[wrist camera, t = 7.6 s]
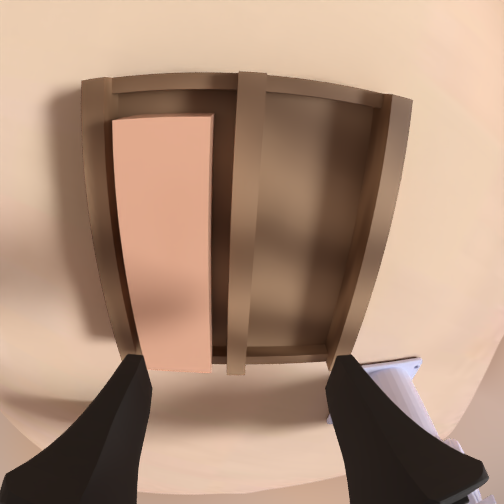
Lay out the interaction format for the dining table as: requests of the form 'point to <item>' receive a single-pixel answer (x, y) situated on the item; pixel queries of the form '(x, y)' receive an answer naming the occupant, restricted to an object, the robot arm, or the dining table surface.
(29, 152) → the dining table surface
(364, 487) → the robot arm
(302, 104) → the rack
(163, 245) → the clay strip
